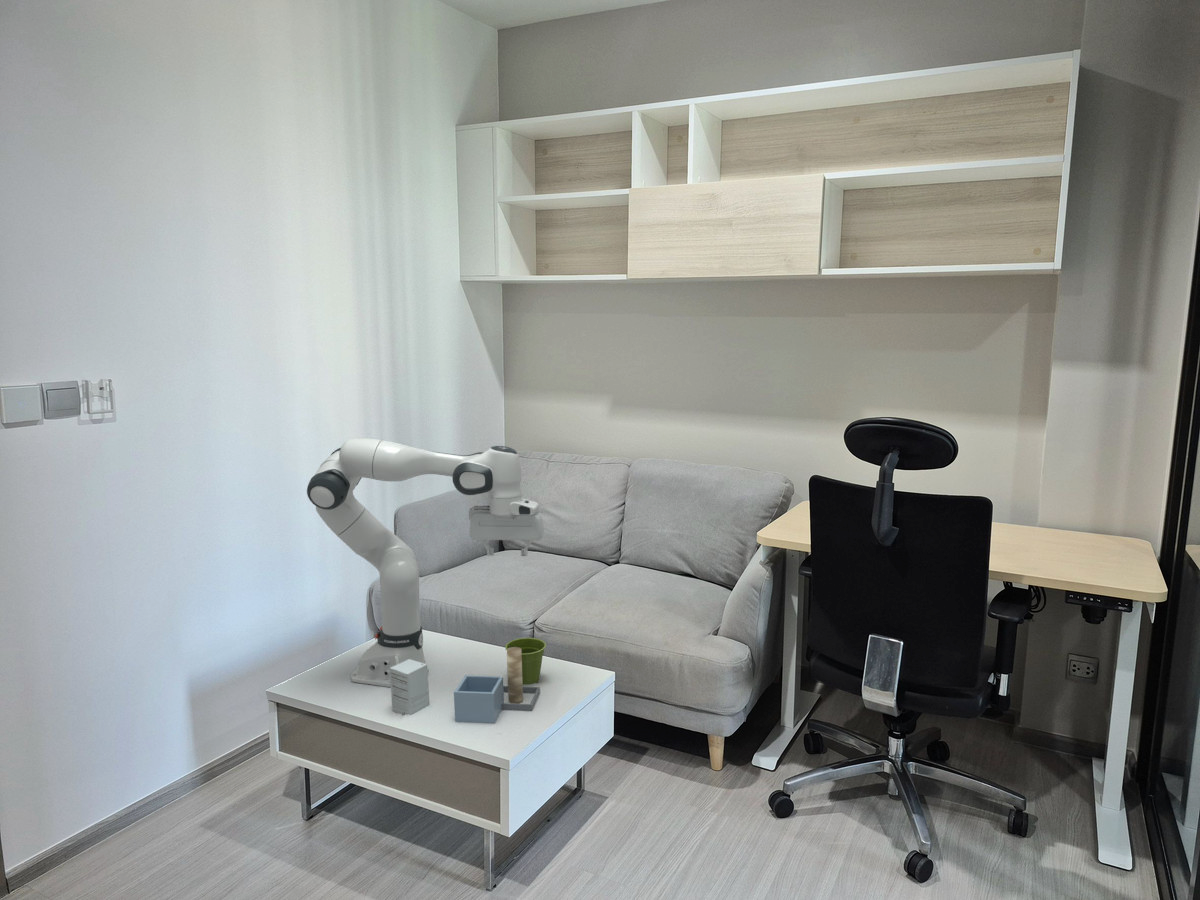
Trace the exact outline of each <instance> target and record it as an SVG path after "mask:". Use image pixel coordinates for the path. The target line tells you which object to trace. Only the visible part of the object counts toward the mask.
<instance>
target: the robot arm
mask: <svg viewBox="0 0 1200 900" xmlns="http://www.w3.org/2000/svg"><path fill="white" fill-rule="evenodd" d="M521 470H522V469H521V460H520V457H519V454H518V452H517V450H516V449H514V448H512V447H509V446H504V445H494V446H491V447H489V448H488V449H487V450H485V451H479V452H475V453H471V454H466V455H461V454H455V453H454V454H453V453H447V452H439V451H431V450H427V449H422V448H420V447H414V446H410V445H406V444H403V443H398V442H395V441H390V440H384V439H378V438H372V437H370V438H369V437H354V438H353V437H352V438H348V439H347V440H345V441H344V443H342V445H341V446H340V447H339V448H337V449H335V450H334V451H333V452H332V453H331V454H330V456H328V457H327V458H326V459H325V460H324V461H323V462H322V463H321V464H320V466H319V468H318V469H317V470H316V472H315V474H314V475H313V476H312V477H311V478H310V480H309V482H308V484H307V488H306V495H307V498H308V500H309V501H310V502H311V503H312V504H313V505H314V507H315V510H316V512H317V514H318V516H319V517H320V518H321V520H322V521H323V522H324V524H325V525H326V526H327V527H328V528H329V529H330V531H331V532H333V534H335V535H336V536H337V537H338V538H339V539H340V540H341V541H342V542H343V543H344V544H345V545H346V546H347V547H349V549H351V551H353V552H354V553H355V555H358V556H359V557H361V558H363V559H364V560H365V561H367V562H368V563H370V564H371V565H372V566H373V567H374V568H375V569H376V570H377V571H378V572H379V573H378V574H379V585H380V609H381V611H380V612H381V623H382V624H381V625H382V626H380V627H379V630H378V631H377V632H376V634H375V635H374V637H375V638H374V640H375V641H376V640H377V641H376V642H375V643H374V644H372V645H371V646H370V647H369V648H367V649H366V650H365V651H364V652H363V653H362V654H361V656H360V658H359V662H358V666H357V667H355V669H354V670H353V671H352V673H351V675H350V681H351V682H353V683H358V684H367V685H372V686H379V687H380V686H381V687H387V688H391V682H390V668H391V667H393V666H395V665H397V664H400V663H402V662H404V661H406V660H408V659H411V660H414V661H417V662H421V663H424V664H427V663H426V659H425V654H424V649H423V646H424V635H423V627H422V625H421V612H420V569H419V565H418V561H417V558H416V555H415V552H414V550H413V549H412V548H411V547H410V546H409V545H408V544H407V543H405V541H403V540H402V539H401V538H400V537H399V536H397V535H396V534H394V533H393V532H392V531H391V530H390V529H388V528H387V527H386V526H384V525H383V523H382V522H380V520H378V518H376V517H375V516H374V515H373V514H372V513H371V512H370V510H368V509H367V508H366V507H365V506H364V505H363V504H361V502H359V501H358V500H357V499H356V497H355V495H354V490H355V489H356V487H357V485H359V483H360V482H361V480H362V479H363V478H364V479H365V478H366V479H370V480H375V481H382V482H403V481H406V480H408V479H409V480H410V479H412V478H415V477H419V476H425V475H438V476H445V477H451V478H452V484H453V486H454V488H455V489H456V490H457V491H458V492H459V493H460V494H462V495H464V496H465V495H466V496H476V495H480V494H484V493H488V505H474V506H472V507H471V508H469V510H468V519H469V520H470V521H469V523H470V524H469V537H470V539H471V540H473V541H474V540H477V541H479V540H480V541H482V545H483V546H484V548H485V550H486V554H487V555H486V556H489V557H490V556H492V557H493V556H495V555H494V554H495V552H494V551H495V548H494V547H491V546H490V543H489V542H490V541H524V545H526V546H524V548H521V549H520V557H527V556H528V553H529V552H528V550H529V548H530V545H531V544H532V541H535V542H537V541H538V542H539V541H540V540H541V539H543V538H544V536H545V528H544V520H543V516H542V515H541V513H540V512H539V509H540V507H539V506H540V504H539V503H538V502H536V501H533V500H530V499H527V498H525V497H523V496H522V495H523V494H522V490H521V481H522V471H521ZM427 671H428V672H429V668H428V667H427Z"/></svg>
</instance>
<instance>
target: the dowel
mask: <svg viewBox="0 0 1200 900" xmlns="http://www.w3.org/2000/svg"><path fill="white" fill-rule="evenodd" d="M506 665H507V667H506V669H507V686H508V693H507V694H508V695H507V696H508V697H507V698H508V703H516V704H523V702H524V693H523V682H522V651H521V648H519V647H511V648H508V649H507V650H506Z"/></svg>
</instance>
